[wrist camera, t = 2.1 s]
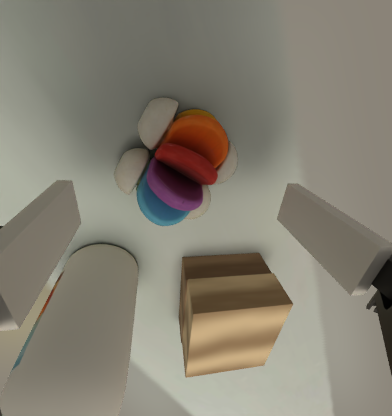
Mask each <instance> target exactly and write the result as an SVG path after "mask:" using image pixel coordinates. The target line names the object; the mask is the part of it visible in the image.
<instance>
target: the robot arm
mask: <svg viewBox="0 0 392 416" xmlns="http://www.w3.org/2000/svg"><path fill="white" fill-rule="evenodd" d="M277 220H278V221H279V222H280V223H281V224H282V225H283V226H284V227H285V228H286V229H287V230H288V231H289V232H290V233H291V234H292V235H293V236H294V237H295V238H296V239H297V240H298V241H299V243H300V244H301V245H302V246H303V247H304V248H305V249H306V250H307V251H308V252H309V253H310V254H311V255H312V256H313V257H314V258H315V259H316V260H317V261H318V262H319V263H320V264H321V265H322V266H323V267H324V268H325V269H326V270H327V272H328V273H329V274H330V275H331V276H332V277H333V278H334V279H335V280H336V281H337V282H338V283H339V284H340V285H341V286H342V287H343V288H344V289H345V290H346V291H347V292H348V293H349V294H350V295H351V296H353V295H362V294H366V292H367V290H368V289H369V288H370V286H371V285H373V286H374V287H376V288H377V289H378V290H377V292H376V293H375V294H374V296H373V297H372V299H371V300H370V301H369V303H368V304H367V309H370V308H371V307H372V306H376V308H375V310H374V312H376V313H378V316H379V321H380V325H381V330H382V334H383V339H384V343H385V347H386V352H387V357H388V361H389V366H390V370H391V375H392V243H391V242H389V241H388V240H386V239H385V238H383V237H381V236H380V235H378V234H376V233H375V232H373V231H372V230H370V229H369V228H367V227H365V226H364V225H362V224H361V223H359V222H358V221H356V220H355V219H353V218H351V217H350V216H348V215H347V214H345V213H343V212H342V211H340V210H339V209H337V208H336V207H334V206H332V205H331V204H329V203H328V202H326V201H325V200H323V199H321V198H320V197H318V196H317V195H315V194H313V193H312V192H310V191H309V190H307V189H306V188H304V187H302V186H301V185H299V184H287V188H286V191H285V194H284V197H283V201H282V204H281V207H280V211H279V214H278V217H277ZM80 224H81V219H80V214H79V210H78V205H77V200H76V196H75V191H74V186H73V182H72V181H67V180H57V181H56V182H54V183H53V184H52V185H51V186H50V187H49V188H47V189H46V190H45V191H44V192H43V193H42V194H40V195H39V196H38V197H37V198H36V199H35V200H34V201H32V202H31V203H30V204H29V205H28V206H27V207H25V208H24V209H23V210H22V211H21V212H20V213H18V214H17V215H16V216H15V217H14V218H13V219H11V220H10V221H9V222H8V223H7V224H6V225H4V226H0V331H3V330H14V329H19V328H20V327H21V325H22V323H23V321H24V320H25V318H26V316H27V315H28V313H29V311H30V309H31V308H32V306H33V304H34V303H35V301H36V299H37V298H38V296H39V294H40V292H41V290H42V289H43V287H44V286H45V284H46V282H47V281H48V279H49V277H50V275H51V274H52V272H53V270H54V269H55V267H56V265H57V264H58V262H59V260H60V258H61V257H62V255H63V253H64V252H65V250H66V248H67V247H68V245H69V243H70V241H71V240H72V238H73V236H74V235H75V233H76V231H77V229H78V228H79V226H80ZM0 416H2V413H1V409H0Z"/></svg>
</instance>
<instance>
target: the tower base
mask: <svg viewBox="0 0 392 416" xmlns="http://www.w3.org/2000/svg"><path fill="white" fill-rule="evenodd" d="M270 273H271V271H270V270H269V268H268V266H267V265H266V263H265V262H264V260H263V258H262V257H261V255H260V254H259V253H248V254H230V255H212V256H194V257H182V273H181V290H180V306H179V325H180V335H181V343H182V338H183V327H184V315H185V304H186V293H187V282H188V279H200V278H214V277H228V276H242V275H256V274H270Z"/></svg>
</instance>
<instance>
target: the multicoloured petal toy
mask: <svg viewBox="0 0 392 416" xmlns="http://www.w3.org/2000/svg"><path fill="white" fill-rule="evenodd" d="M177 108H178V102H177V101H175V100H173V99H170V98H156V99H153V100H151V101H150V102H149V104H148V105H147V107H146V109H145V111H144V112H143V114H142V116H141V118H140V120H139V122H138V125H137V127H138V133H139V136H140V138H141V140H142V142H143V143H144V144H145V146H146V147H148V148H149V149H150V150H152V149H156V148H158V149H157V150H156V152H155V157H153V158H152V159H150V160H149V155H150V151H148V150H147V149H141V148H135V149H131V150H128V151H126V152H125V153H124V154H123V155H122V157H121V159H120V161H119V163H118V165H117V167H116V169H115V172H114V177H115V181H116V183H117V185H118V186H119V188H120V189H121V190H122V191H123V192H124V193H126V194H128V195H129V194H130V193H131V192H132V191H133V189H134V187H135V186H136V185H137V188H136V190H137V201H138V204H139V207H140V209H141V211H142V212H143V214H144V215H145V216H146V217H147V218H148V219H149V220H150V221H151V222H153V223H155V224H157V225H160V226H169V225H174V224H177V223H179V222H180V221H182V220H183V219H195V218H198V217H200V216H201V215H203V214H204V213H205V212H206V210H207V209H208V207H209V205H210V201H211V194H210V190H209V187H208V186H207V185H212V184H219V183H222V182H225V181H226V180H228V179H229V178H230V177H231V176H232V175H233V173H234V172H235V170H236V167H237V163H238V155H237V151H236V149H235V147H234V145H233V144H232V143H231V142H230V141H228V138H227V135H226V133H225V131H224V129H223V127H222V126H221V125H220V123H219V122H218V121H217V120H216V119H215V117H214V116H212V115H211V114H210V113H208V112H206V111H204V110H200V109H191V110H186V111H184V112H181V113H179V114H177V116H176V118H175V119H174V121H173V118H174V115H175V113H176V111H177Z"/></svg>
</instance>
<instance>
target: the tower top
mask: <svg viewBox="0 0 392 416" xmlns="http://www.w3.org/2000/svg"><path fill="white" fill-rule="evenodd" d="M292 305H293V303H292V301H291V300H290V298H289V297H288V295H287V294H286V292H285V290H284V289H283V287H282V286H281V284H280V282H279V281H278V279H277V278H276V276H275V275H274V273H270V274H256V275H242V276H228V277H214V278H200V279H188V282H187V293H186V304H185V315H184V327H183V338H182V346H183V356H184V366H185V376H186V377H193V376H199V375H206V374H212V373H218V372H225V371H231V370H237V369H244V368H250V367H257V366H263V365H264V364H265V362H266V360H267V358H268V356H269V354H270V352H271V349H272V347H273V345H274V343H275V341H276V339H277V337H278V335H279V333H280V331H281V329H282V326H283V324H284V322H285V320H286V318H287V316H288V314H289V312H290V310H291V308H292Z"/></svg>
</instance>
